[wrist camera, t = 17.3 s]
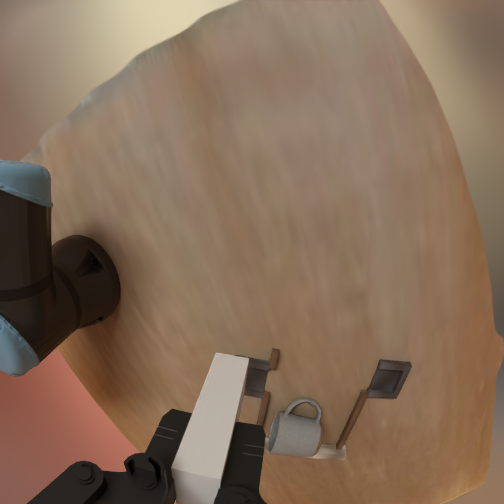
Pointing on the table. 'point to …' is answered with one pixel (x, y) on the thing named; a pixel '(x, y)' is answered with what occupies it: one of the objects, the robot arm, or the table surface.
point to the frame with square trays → (382, 386)
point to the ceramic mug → (296, 432)
